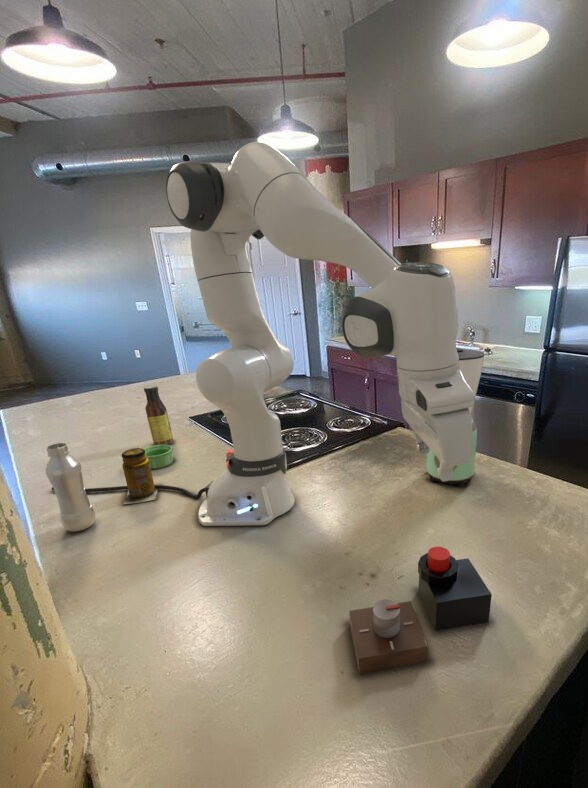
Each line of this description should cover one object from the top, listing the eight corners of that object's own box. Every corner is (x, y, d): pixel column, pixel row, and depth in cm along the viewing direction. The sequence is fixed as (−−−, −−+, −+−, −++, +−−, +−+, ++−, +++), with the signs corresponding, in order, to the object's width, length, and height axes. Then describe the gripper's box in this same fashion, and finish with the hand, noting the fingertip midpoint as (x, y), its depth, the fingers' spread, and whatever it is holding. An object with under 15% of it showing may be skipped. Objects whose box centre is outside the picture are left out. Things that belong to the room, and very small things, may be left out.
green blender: (469, 494, 105) (480, 356, 93) (418, 486, 110) (421, 353, 97) (479, 464, 122) (489, 343, 109) (434, 458, 126) (439, 341, 114)
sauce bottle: (177, 442, 142) (166, 385, 135) (160, 448, 137) (148, 390, 130) (166, 438, 146) (154, 383, 139) (149, 444, 141) (136, 387, 134)
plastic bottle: (62, 538, 91) (34, 454, 84) (66, 523, 96) (41, 443, 89) (96, 530, 93) (72, 448, 86) (99, 516, 99) (76, 438, 92)
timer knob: (376, 640, 60) (375, 620, 59) (370, 619, 64) (370, 599, 63) (402, 635, 61) (403, 615, 60) (396, 615, 65) (396, 595, 63)
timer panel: (359, 674, 59) (358, 657, 57) (349, 624, 67) (349, 609, 66) (427, 661, 60) (427, 645, 59) (409, 615, 69) (410, 600, 67)
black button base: (430, 632, 65) (432, 594, 63) (413, 589, 74) (414, 554, 72) (488, 622, 67) (492, 584, 64) (464, 581, 76) (467, 547, 73)
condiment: (158, 485, 113) (149, 444, 109) (155, 500, 106) (145, 457, 101) (128, 490, 111) (118, 448, 107) (123, 505, 103) (111, 461, 99)
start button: (431, 574, 67) (432, 561, 66) (424, 560, 71) (425, 547, 70) (452, 571, 68) (453, 558, 67) (444, 557, 71) (445, 545, 70)
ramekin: (135, 467, 124) (132, 453, 123) (160, 455, 132) (157, 442, 130) (158, 471, 121) (155, 458, 119) (181, 459, 129) (179, 446, 127)
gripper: (388, 368, 69) (396, 442, 75) (433, 407, 51) (438, 502, 57) (424, 361, 70) (429, 435, 76) (481, 398, 52) (481, 492, 58)
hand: (433, 464), depth 66 cm, fingers open, 8 cm apart
